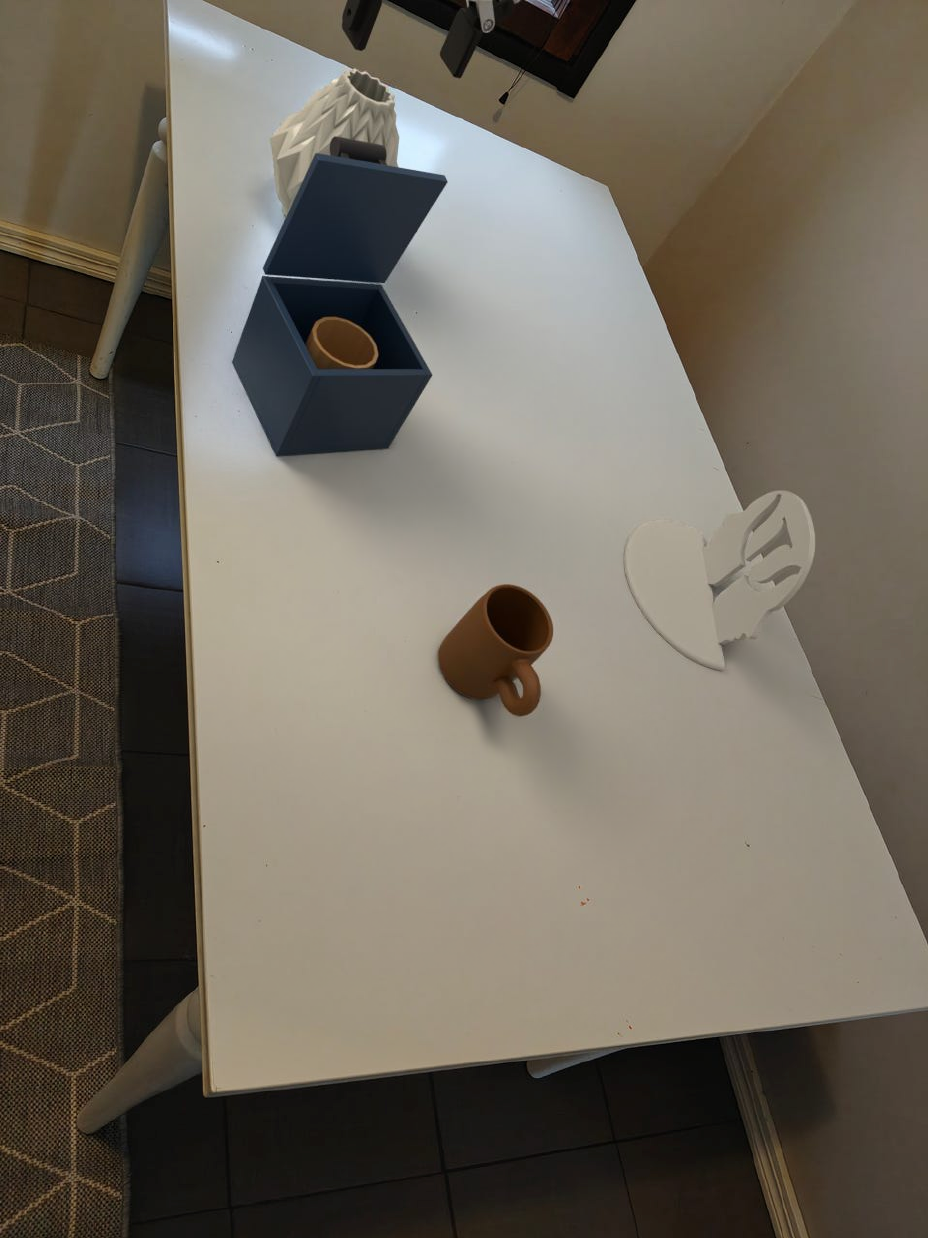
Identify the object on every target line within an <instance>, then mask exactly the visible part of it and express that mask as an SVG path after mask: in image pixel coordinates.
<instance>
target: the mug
mask: <svg viewBox="0 0 928 1238" xmlns="http://www.w3.org/2000/svg"><path fill="white" fill-rule="evenodd" d="M553 638H554V624H553V620H552V617H551V615H550V612H549V611H548V609H547V607H546V606H545V604H543V602H542V600H540V599H539V598H538V597H537V596H536V595H535V594H533V593H532V592H531V591H530V590H527V589H526V588H524V587H522V586H519V585H515V584H510V583H508V584H507V583H505V584H499V585H495V586H493V587H491V588H490V589H489V590H488V591H486V592H485V594H483V595H482V596H481V597H480V598H479V599H478V600H477V601H475V603H474V604H473V605H472V606H471V607H470V608H469V610H468V611H467V612H466V613H465V614H464V615H463V616H462V617H461V619H460V620H459V621H458V622H457V623H455V626H453V627H452V629H451V630H450V631H449V632H448V633H447V634H446V636H445V637H444V639H442V641H441V644H440V646H439V649H438V665H439V669H440V671H441V674H442V675H443V677H444V678H445V680H446V681H447V683H448V684H449V685H450V686H451V687H452V688H453V689H454V690H455V691H457V692H458V693H460V694H461V695H463V696H465V697H468V698H471V699H477V700H485V699H490V698H492V697H495V696H497V695H499V698H500V701H501V703H502V705H503V707H504V709H506V711H507V712H508V713H510V714H511V715H513V716H516V717H525V716H528V715H531V714H532V713H533V712H534V711H535V710H536V709H537V707H538V705H539V703H540V701H541V695H542V687H541V682H540V677H539V675H538V672H536V670H535V669H534V667H533V664H534V663H535V662H537V660H539V658H540V657H541V656H542V655H543V654H544V653H545V651H547V649H548V648H549V647H550V645H551V644H552V641H553ZM516 679H518V680H519V682H520V684H521V686H522V696H520V694H519V691H518V687H517V685H516V683H515V682H514V681H516Z"/></svg>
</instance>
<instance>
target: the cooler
mask: <svg viewBox="0 0 928 1238" xmlns="http://www.w3.org/2000/svg"><path fill="white" fill-rule="evenodd" d="M258 284H259V285H258V287H257V290H256V293H255V295H254V298H253V301H252V304H251V307H250V309H249V312H248V316H247V317H246V321H245V324H244V327H243V329H242V333H241V335H240V337H239V341H238V344H237V347H236V348H235V352H234V354H233V357H232V360H231V363H232V365H233V368H234V370H235V372H236V374H237V376H238V378H239V381H240V383H241V385H242V387H243V389H244V391H245V393H246V396H247V397H248V400H249V402H250V404H251V406H252V408H253V410H254V413H255V414H256V416H257V418H258V420H259V423H260V424H261V428H262V429H263V431H264V434H265V435H266V438H267V440H268V442H269V444H270V446H271V448H272V451H273V452H274V455H275V456H276V457H284V456H287V457H288V456H300V455H301V456H302V455H314V454H329V453H330V454H331V453H342V452H359V451H373V450H388V449H389V448H390V447H391V446H392V443H393V442H394V440H395V439H396V437H397V435H398V433H399V432H400V430H401V429H402V427H403V425H404V423H406V420H407V419H408V417H409V415H410V413H411V412H412V411H413V409H414V407H415V405H416V403H417V402H418V400H419V398H420V397H421V395H422V393H423V392H424V390H425V389H426V387H427V385H428V384H429V382H430V381H431V378H432V377H433V373H432V371H431V370H430V367H429V366H428V364H427V362H426V361H425V359H424V357H423V355H422V353H421V351H420V350H419V349H418V347H417V344H416V343H415V341H414V339H413V338H412V336H411V334H410V332H409V331H408V329H407V327H406V325H405V323H404V322H403V320H402V318H401V316H400V315H399V313H398V311H397V310H396V307H395V306H394V304H393V302H392V301H391V298H390V297H389V295H388V293H387V292H386V290H385V288H384V287H383V284H382V283H369V282H355V281H341V280H327V279H314V278H300V277H286V276H271V275H262V276H261V279H260V282H259V283H258ZM323 317H338V318H342V319H346V320H349V321H351V322H352V323H354V324H356V325H358V326H360V327H361V328H362V329H363V330H364V331H366V332H367V333H368V334H369V335H370V336H371V338H372V339H373V341H374V342H375V344H376V346H377V350H378V358H377V360H376V363H375V365H374V367H373V369H318V370H317V368H316V366H315V364H314V362H313V360H312V358H311V356H310V354H309V352H308V350H307V348H306V346H305V344H306V342H307V340H308V338H309V335H310V333H311V331H312V328H313V326H314V324H315V322H316V321H318V320H320V319H322V318H323Z"/></svg>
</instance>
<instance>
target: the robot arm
mask: <svg viewBox="0 0 928 1238" xmlns="http://www.w3.org/2000/svg"><path fill="white" fill-rule="evenodd" d="M465 2H466V8H464V7H460V8H459V10H458V11H457V13H456V15H455V17H454V19H453V21H452V24H451V26H450V28H449V30H448V33H447V35H446V38H445V40H444V42H443V44H442V46H441V49H440V51H439V57H440V58H441V60H442V62H443V63H444V65H445V66H446V68H447V69H448V71H449V72H450V74H451V75H452V77H453V78H456V79H462V77H463V76H464V74H465V71H466V69H467V67H468V65H469V63H470V61H471V60H472V57H473V55H474V53H475V50H476V48H477V46H478V44H479V43H480V40H481V38H482V36H483V34H484V33H485V34H488V33H490V32H491V31H493V30H494V28H495V25H496V23H497V22H498V21H500V20H502V19H503V18H505V17H507V16H508V15H510V14H511V13H512V12H513V11H514V9H515V6H516V4H518V3H519V2H521V0H465ZM382 5H383V0H346V3H345V6H344V9H343V12H342V18H341V21H342V22H341V29H342V31H343V32H344V34H345V36H346V37H347V39H348V41H349V42H350V44H351V45H352V47H353V49H354V50H356V51H359V52H363V51H365V50H366V48H367V45H368V43H369V40H370V37H371V34H372V32H373V30H374V26H375V24H376V22H377V19H378V16H379V14H380V10H381V9H382Z"/></svg>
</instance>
